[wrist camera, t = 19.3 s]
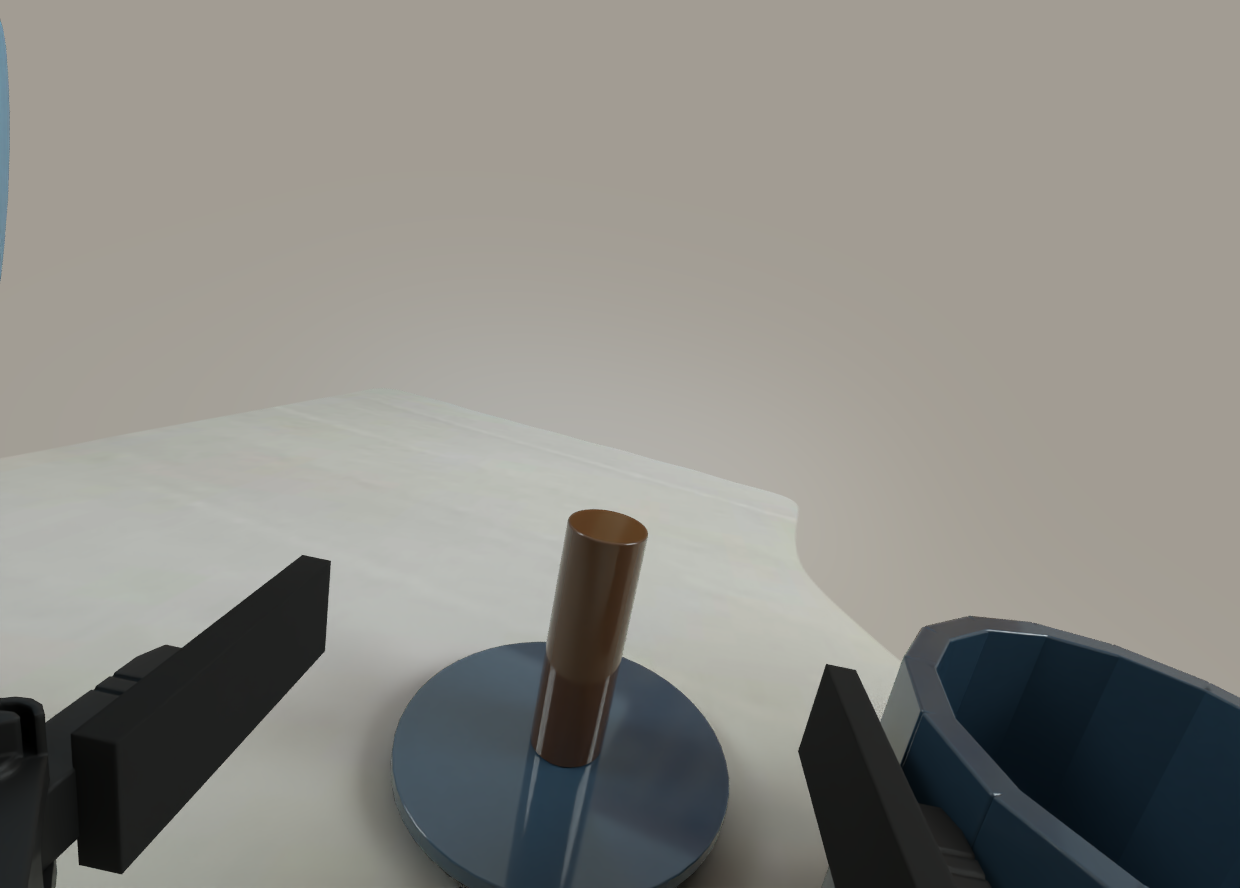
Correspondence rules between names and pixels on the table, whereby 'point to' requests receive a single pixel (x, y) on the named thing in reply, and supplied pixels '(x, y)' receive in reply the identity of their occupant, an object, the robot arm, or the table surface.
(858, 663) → the table surface
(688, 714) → the lid
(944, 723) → the canister
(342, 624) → the table surface
